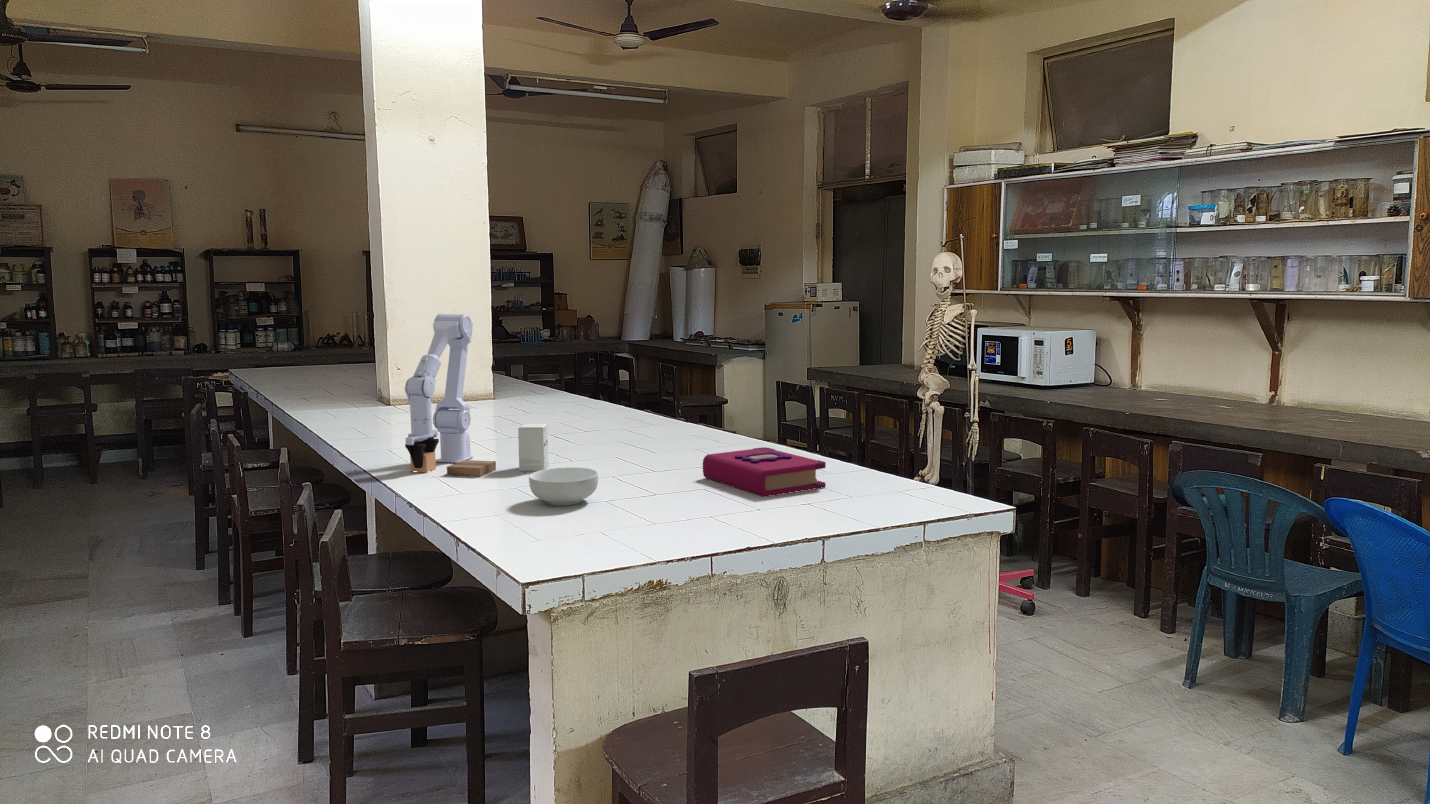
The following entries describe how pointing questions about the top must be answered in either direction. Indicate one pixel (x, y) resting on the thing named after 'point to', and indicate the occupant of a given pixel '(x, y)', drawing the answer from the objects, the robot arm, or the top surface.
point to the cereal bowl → (563, 484)
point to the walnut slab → (471, 468)
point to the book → (763, 471)
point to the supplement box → (533, 447)
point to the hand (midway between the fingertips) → (423, 465)
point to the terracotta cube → (425, 462)
